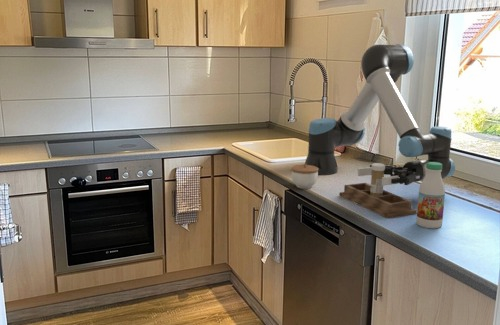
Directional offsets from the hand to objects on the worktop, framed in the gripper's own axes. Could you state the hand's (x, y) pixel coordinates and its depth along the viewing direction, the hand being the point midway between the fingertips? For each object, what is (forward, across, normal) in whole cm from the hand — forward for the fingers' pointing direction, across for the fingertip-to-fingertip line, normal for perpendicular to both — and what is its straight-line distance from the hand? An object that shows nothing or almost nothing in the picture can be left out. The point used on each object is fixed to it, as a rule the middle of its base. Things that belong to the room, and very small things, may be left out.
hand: (369, 176), depth 174 cm
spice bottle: (-3, 0, -9) cm, 10 cm away
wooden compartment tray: (-3, 0, -10) cm, 11 cm away
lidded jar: (+9, +30, -11) cm, 33 cm away
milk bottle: (-5, -24, -11) cm, 27 cm away
